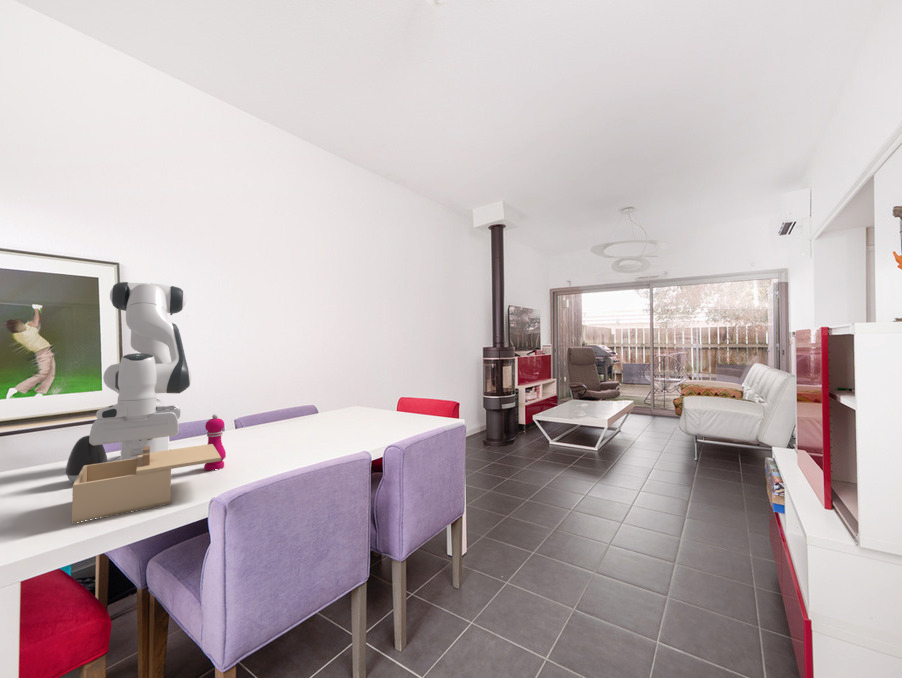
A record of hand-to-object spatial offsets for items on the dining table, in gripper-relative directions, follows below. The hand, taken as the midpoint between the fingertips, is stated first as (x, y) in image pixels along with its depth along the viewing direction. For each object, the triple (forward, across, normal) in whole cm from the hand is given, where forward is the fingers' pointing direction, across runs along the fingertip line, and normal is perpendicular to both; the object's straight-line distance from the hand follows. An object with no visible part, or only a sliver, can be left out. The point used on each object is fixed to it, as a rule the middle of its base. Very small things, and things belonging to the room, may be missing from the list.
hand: (136, 455), depth 110 cm
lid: (+3, -10, 0) cm, 11 cm away
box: (+13, +2, 0) cm, 13 cm away
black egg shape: (+13, +13, -30) cm, 35 cm away
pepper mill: (+13, -22, -19) cm, 32 cm away
